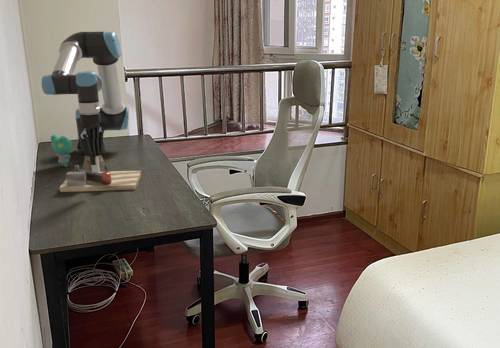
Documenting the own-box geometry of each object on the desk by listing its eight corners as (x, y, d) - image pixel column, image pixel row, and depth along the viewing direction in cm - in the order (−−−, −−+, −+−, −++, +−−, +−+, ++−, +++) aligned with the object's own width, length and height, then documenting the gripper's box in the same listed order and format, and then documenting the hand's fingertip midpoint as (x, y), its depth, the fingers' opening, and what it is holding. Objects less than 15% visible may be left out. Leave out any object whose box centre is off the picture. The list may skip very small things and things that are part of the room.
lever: (83, 175, 212) (82, 166, 211) (113, 182, 204) (112, 172, 202) (77, 177, 209) (75, 168, 208) (106, 184, 201) (105, 175, 200)
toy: (50, 166, 232) (46, 135, 228) (63, 162, 239) (60, 132, 235) (64, 169, 228) (60, 137, 224) (77, 164, 235) (74, 134, 231)
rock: (113, 158, 223) (98, 156, 217) (106, 179, 225) (90, 177, 219) (98, 146, 232) (83, 144, 225) (91, 166, 234) (76, 164, 228)
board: (72, 177, 218) (70, 161, 216) (141, 174, 220) (140, 159, 218) (60, 192, 200) (57, 175, 198) (135, 189, 202) (134, 173, 200)
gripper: (87, 116, 182) (93, 177, 189) (108, 110, 193) (114, 168, 200) (70, 115, 184) (77, 175, 191) (92, 109, 196) (98, 166, 203)
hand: (96, 171), depth 196 cm, fingers closed
